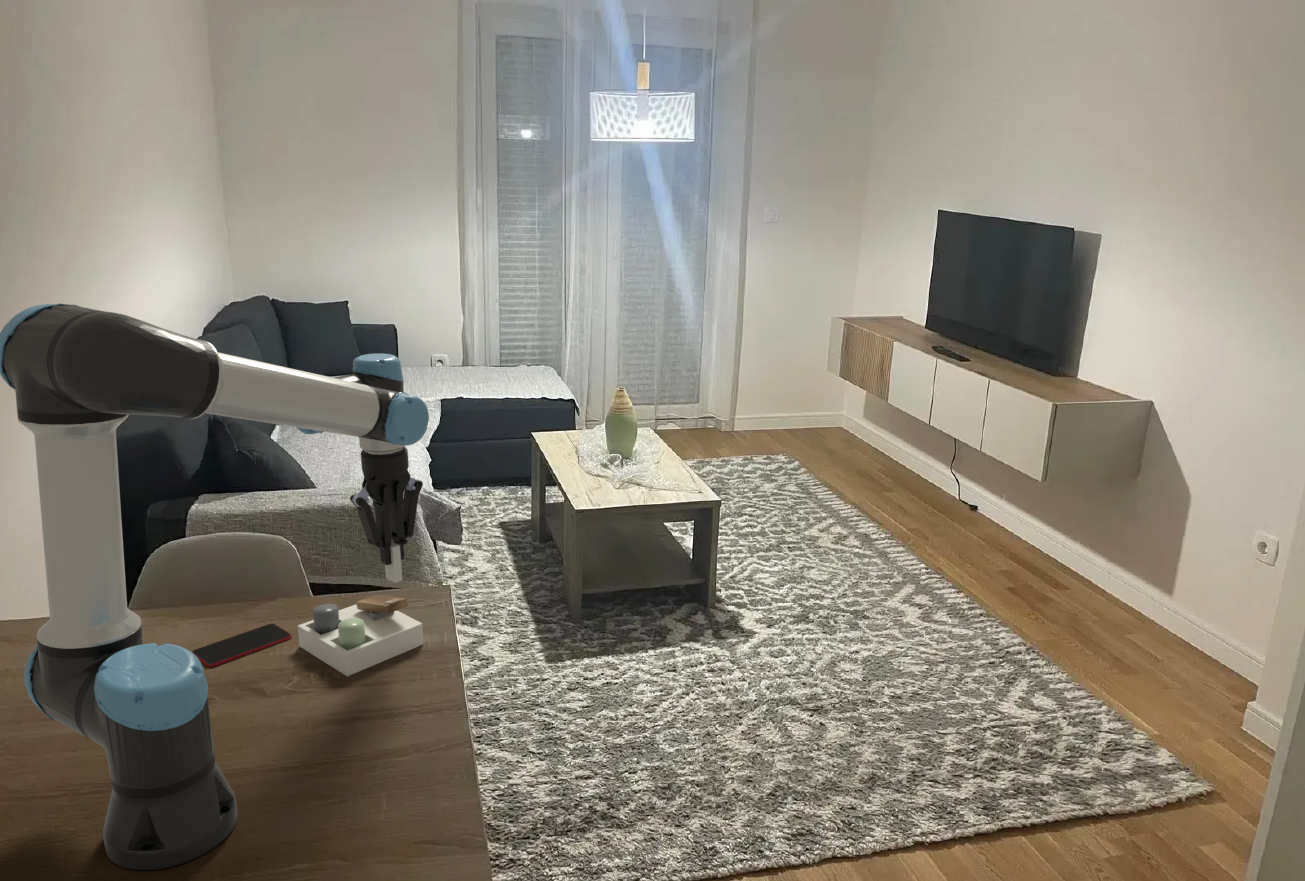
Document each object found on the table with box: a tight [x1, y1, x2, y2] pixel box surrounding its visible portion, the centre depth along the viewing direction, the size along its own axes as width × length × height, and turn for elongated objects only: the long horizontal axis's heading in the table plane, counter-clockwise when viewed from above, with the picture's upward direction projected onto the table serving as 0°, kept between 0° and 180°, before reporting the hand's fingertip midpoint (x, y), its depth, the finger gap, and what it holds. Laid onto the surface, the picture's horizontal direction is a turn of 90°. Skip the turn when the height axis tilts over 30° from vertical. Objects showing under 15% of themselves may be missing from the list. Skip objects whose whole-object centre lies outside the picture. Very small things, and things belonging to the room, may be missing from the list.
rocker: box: [355, 594, 409, 614], centre depth 172 cm, size 4×10×2 cm, turn 48°
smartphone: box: [191, 623, 293, 668], centre depth 170 cm, size 7×1×15 cm
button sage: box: [338, 618, 366, 651], centre depth 164 cm, size 4×4×4 cm
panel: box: [297, 604, 424, 677], centre depth 170 cm, size 15×15×5 cm
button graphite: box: [312, 603, 340, 635], centre depth 169 cm, size 4×4×4 cm
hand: (394, 579), depth 168 cm, fingers closed
